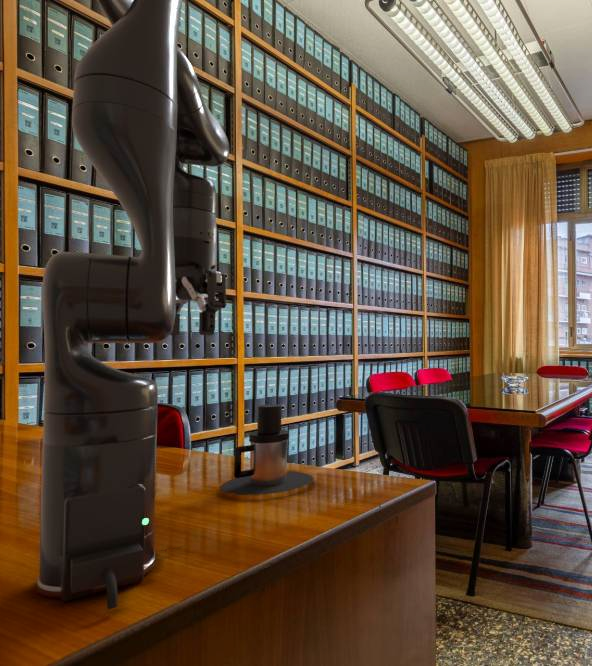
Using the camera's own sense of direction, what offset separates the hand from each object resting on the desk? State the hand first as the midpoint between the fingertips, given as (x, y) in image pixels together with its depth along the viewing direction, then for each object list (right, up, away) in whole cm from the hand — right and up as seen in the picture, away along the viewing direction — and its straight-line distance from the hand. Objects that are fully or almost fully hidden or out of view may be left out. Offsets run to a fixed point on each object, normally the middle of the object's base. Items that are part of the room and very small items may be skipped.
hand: (189, 335), depth 84 cm
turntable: (+14, -26, -1) cm, 29 cm away
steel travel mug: (+13, -24, -1) cm, 28 cm away
